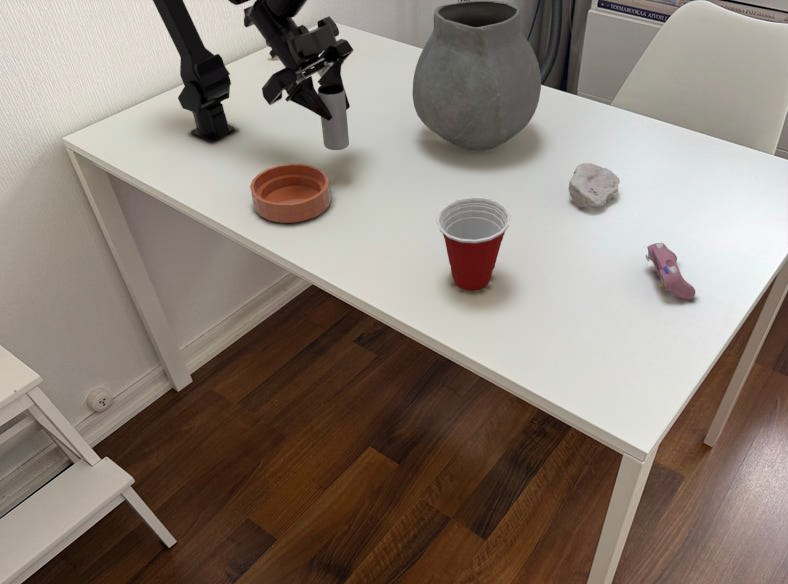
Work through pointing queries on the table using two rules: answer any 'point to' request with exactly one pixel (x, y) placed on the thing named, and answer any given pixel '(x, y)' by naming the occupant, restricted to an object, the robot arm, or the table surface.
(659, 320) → the table surface
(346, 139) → the grey hollow cylinder
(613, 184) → the pale grey lumpy chunk
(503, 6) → the ceramic pot
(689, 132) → the table surface
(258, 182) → the bowl
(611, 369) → the table surface
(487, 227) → the plastic cup
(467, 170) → the table surface
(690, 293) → the video game controller
